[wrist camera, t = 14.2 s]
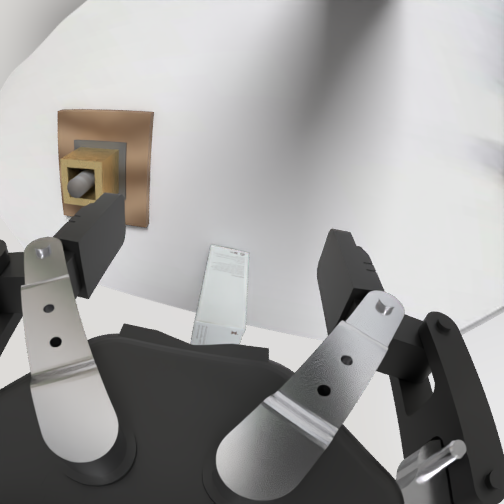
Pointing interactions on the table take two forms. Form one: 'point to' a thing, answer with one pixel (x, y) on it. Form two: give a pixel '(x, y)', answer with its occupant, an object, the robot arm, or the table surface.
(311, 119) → the table surface
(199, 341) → the skincare box
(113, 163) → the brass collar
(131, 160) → the post stand
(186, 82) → the table surface
